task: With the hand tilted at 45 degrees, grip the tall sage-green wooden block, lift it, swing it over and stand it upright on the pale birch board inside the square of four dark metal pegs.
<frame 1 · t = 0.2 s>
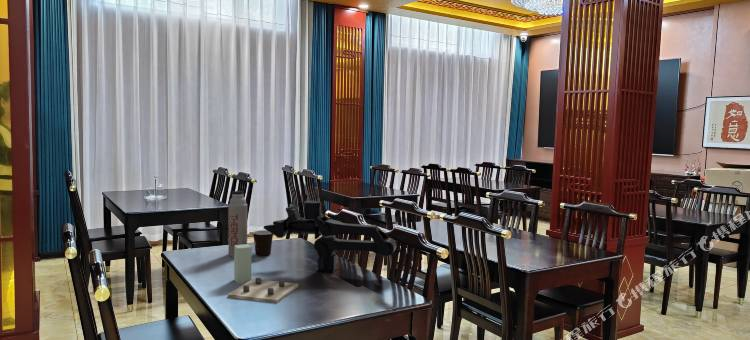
hand: (268, 224, 215), 17 cm above the table, tool horizontal, fingers open, 9 cm apart
coffee mug: (263, 254, 234), on the table
peg board: (264, 291, 183), on the table
sage block: (242, 280, 195), on the table
thermos bottle: (237, 255, 232), on the table
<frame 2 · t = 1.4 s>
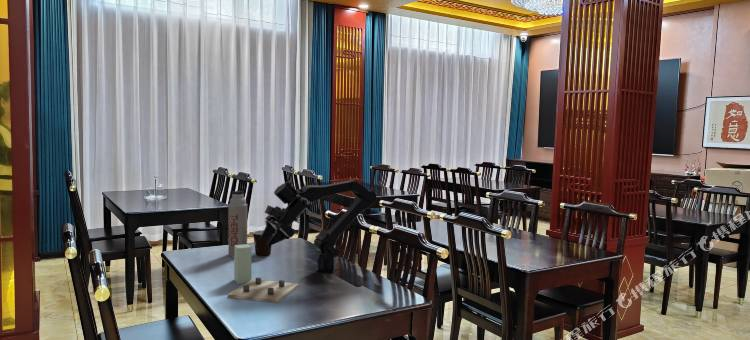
hand: (264, 242, 198), 14 cm above the table, tool tilted 45°, fingers open, 9 cm apart
nothing on the table moved.
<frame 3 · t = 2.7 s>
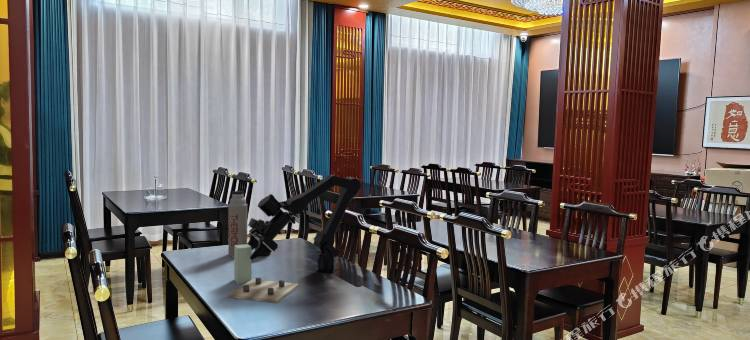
hand: (247, 256, 195), 9 cm above the table, tool tilted 45°, fingers open, 9 cm apart
nothing on the table moved.
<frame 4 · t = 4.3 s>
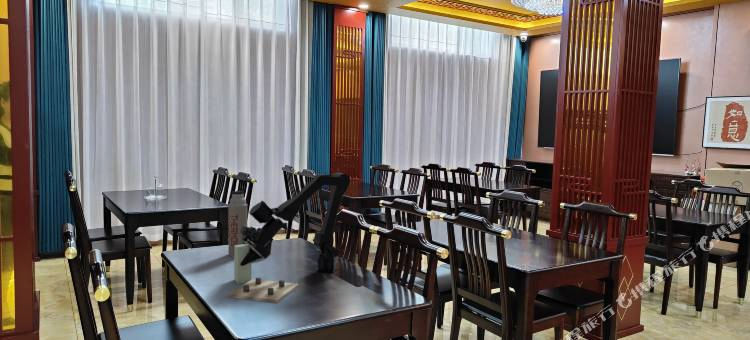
hand: (238, 263, 194), 7 cm above the table, tool tilted 45°, fingers closed on sage block, 5 cm apart
sage block: (242, 280, 195), on the table, touching gripper
everything else where it was.
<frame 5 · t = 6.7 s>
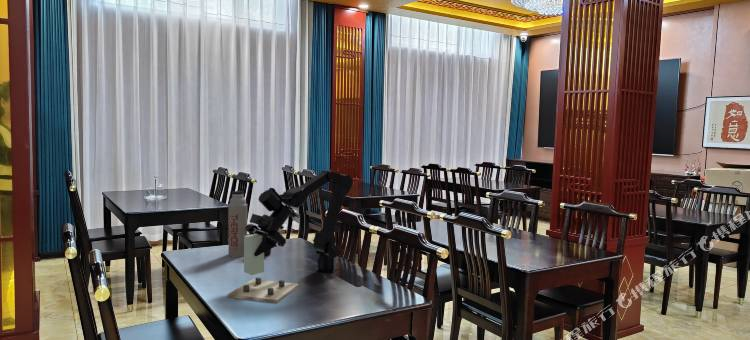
hand: (250, 254, 185), 12 cm above the table, tool tilted 45°, fingers closed on sage block, 5 cm apart
sage block: (254, 272, 187), point 6 cm above the table, touching gripper
everything else where it was.
when the fingers open (9 cm above the table, at t = 8.9 s): sage block drops 1 cm, resting on peg board.
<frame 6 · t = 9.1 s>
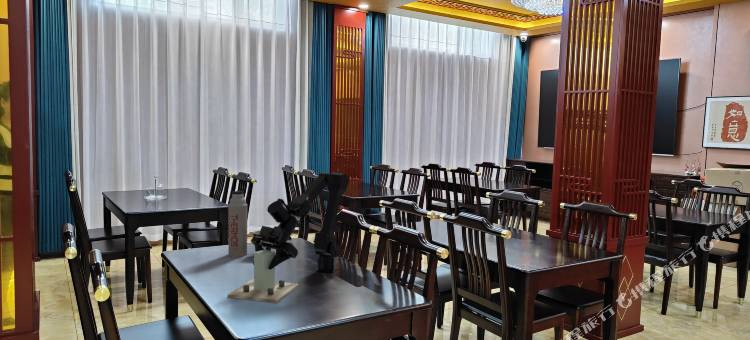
hand: (261, 267, 181), 9 cm above the table, tool tilted 45°, fingers open, 7 cm apart
sage block: (264, 288, 183), point 1 cm above the table, touching peg board
everything else where it was.
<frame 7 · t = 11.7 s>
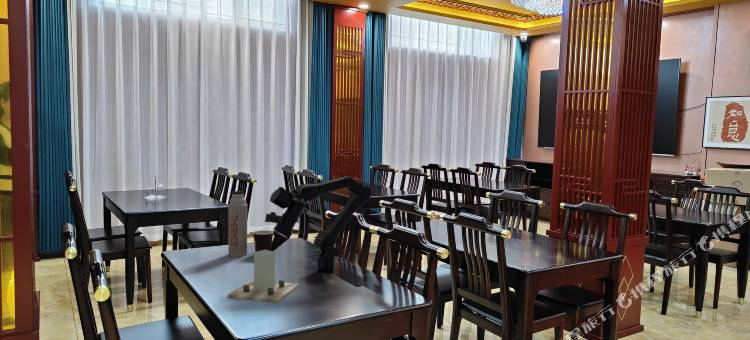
hand: (270, 250, 198), 10 cm above the table, tool tilted 30°, fingers open, 9 cm apart
nothing on the table moved.
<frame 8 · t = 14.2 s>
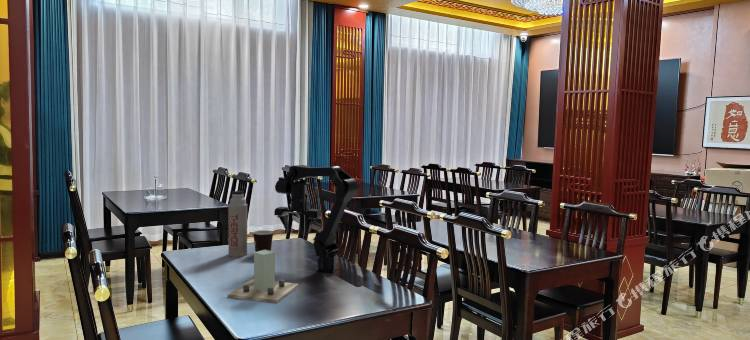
hand: (297, 232, 219), 13 cm above the table, tool pointing down, fingers open, 9 cm apart
nothing on the table moved.
at the end: sage block 0.0 cm off-centre on the peg board, point 1.0 cm above the peg board's base; sage block tilted 0°; the gripper is holding nothing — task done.
